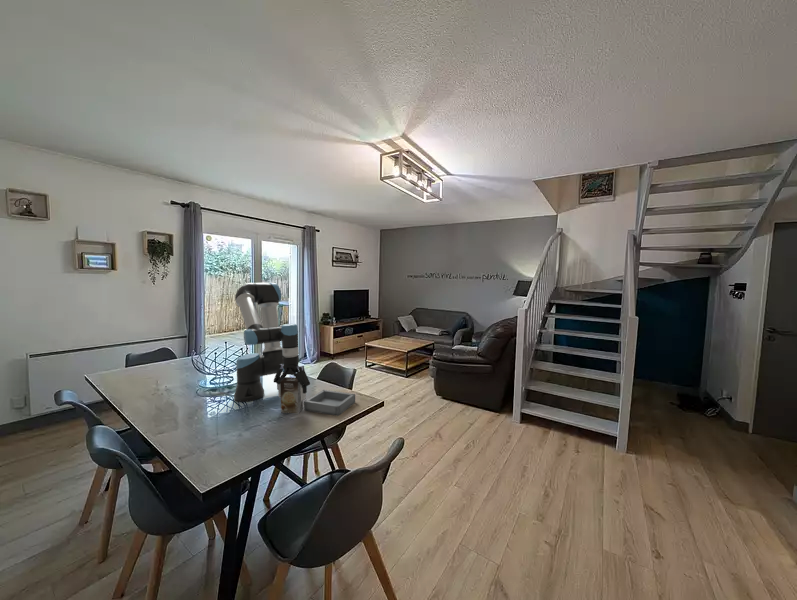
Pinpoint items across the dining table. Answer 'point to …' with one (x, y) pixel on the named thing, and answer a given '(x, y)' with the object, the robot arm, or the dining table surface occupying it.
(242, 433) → the dining table surface
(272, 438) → the dining table surface
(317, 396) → the gray tray
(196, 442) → the dining table surface
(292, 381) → the coffee box
